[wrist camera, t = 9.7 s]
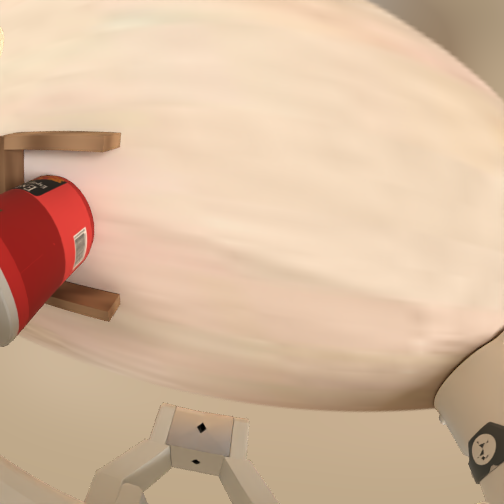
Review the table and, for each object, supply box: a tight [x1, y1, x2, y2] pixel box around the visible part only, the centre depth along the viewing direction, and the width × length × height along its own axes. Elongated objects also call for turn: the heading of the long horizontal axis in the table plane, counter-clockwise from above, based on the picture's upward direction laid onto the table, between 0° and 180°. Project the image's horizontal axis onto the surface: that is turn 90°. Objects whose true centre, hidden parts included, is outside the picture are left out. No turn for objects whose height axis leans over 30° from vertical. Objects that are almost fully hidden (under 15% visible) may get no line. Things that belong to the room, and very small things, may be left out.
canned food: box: [0, 175, 94, 347], centre depth 16 cm, size 8×8×11 cm
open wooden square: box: [0, 131, 121, 322], centre depth 19 cm, size 10×14×2 cm
